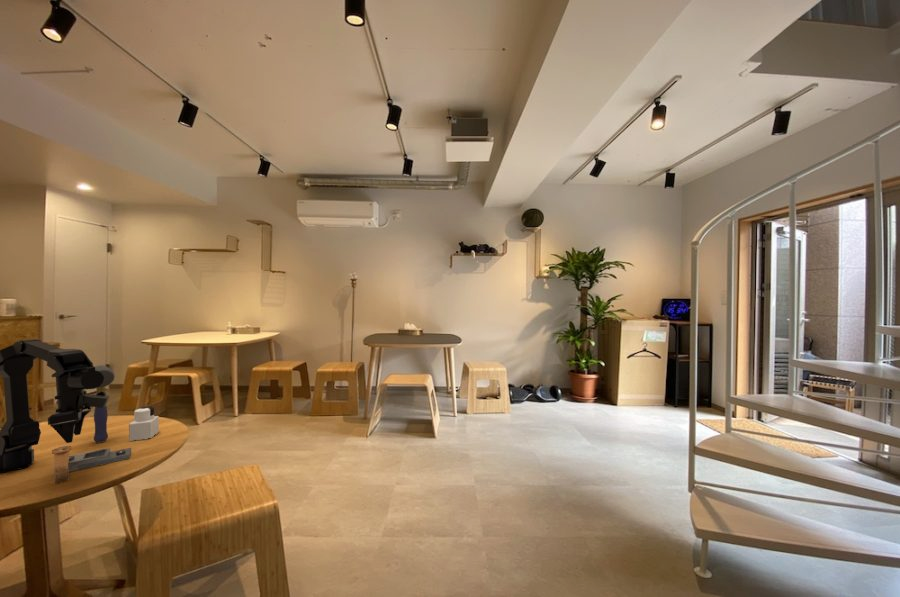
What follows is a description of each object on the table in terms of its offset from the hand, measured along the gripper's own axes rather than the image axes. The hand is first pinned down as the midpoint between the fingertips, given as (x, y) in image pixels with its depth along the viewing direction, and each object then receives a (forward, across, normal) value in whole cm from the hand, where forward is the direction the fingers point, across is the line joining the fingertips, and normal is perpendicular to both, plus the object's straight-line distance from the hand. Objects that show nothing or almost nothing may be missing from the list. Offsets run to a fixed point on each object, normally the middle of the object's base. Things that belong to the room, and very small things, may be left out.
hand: (73, 438), depth 108 cm
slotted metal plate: (+12, +10, -2) cm, 16 cm away
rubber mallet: (+10, +32, 0) cm, 34 cm away
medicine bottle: (+12, +29, -14) cm, 34 cm away
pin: (+12, 0, +3) cm, 13 cm away
